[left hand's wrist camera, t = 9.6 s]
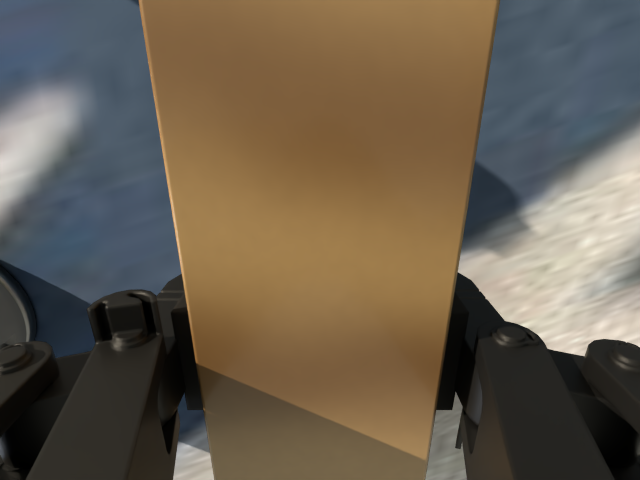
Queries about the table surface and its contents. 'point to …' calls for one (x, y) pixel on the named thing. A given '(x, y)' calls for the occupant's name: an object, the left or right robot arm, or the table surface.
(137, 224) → the table surface
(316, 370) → the beam
